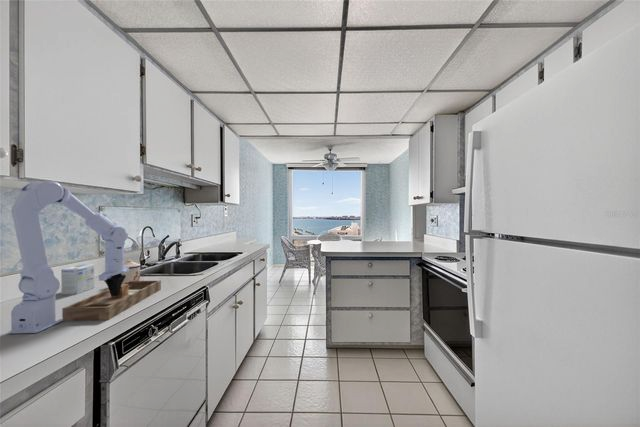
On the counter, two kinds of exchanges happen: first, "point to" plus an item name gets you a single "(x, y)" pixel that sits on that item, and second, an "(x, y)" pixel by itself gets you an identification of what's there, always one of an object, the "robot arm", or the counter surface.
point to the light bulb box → (77, 279)
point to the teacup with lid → (132, 271)
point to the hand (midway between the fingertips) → (114, 295)
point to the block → (123, 290)
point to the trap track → (109, 302)
